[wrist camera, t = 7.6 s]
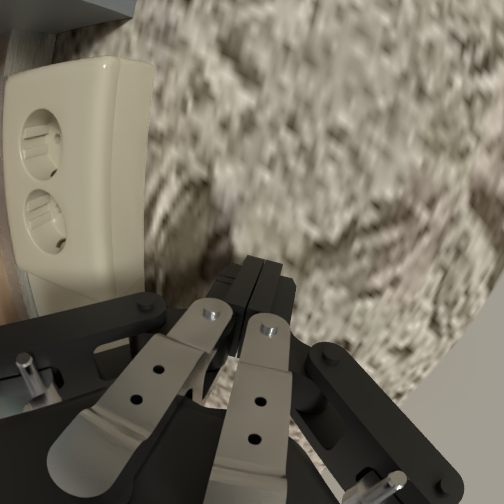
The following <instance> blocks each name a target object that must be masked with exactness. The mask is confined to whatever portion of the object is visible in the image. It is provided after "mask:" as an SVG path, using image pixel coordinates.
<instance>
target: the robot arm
mask: <svg viewBox="0 0 504 504" xmlns="http://www.w3.org/2000/svg"><path fill="white" fill-rule="evenodd" d="M264 262H265V264H264ZM282 266H283V264H281V263H277V262H273V261H269V260H266V261H265V259H261V258H257V257H253V256H250V255H247V257H246V259H245V261H244V263H243V265H238V264H234V263H232V264H230V265H228V266H226V267H224V268H223V270H222V272H221V273H220V276H218V278H217V280H216V281H215V283H214V284H213V286H212V288H211V289H210V291H209V293H208V294H207V296H206V297H205V298H202V299H198V300H196V301H195V302H194V303H193V304H192V305H191V306H190V307H189V308H188V309H174V308H167V304H166V301H165V299H164V298H163V297H161V296H160V295H158V294H155V293H152V292H139V293H135V294H131V295H127V296H123V297H119V298H115V299H110V300H106V301H102V302H98V303H94V304H90V305H86V306H82V307H78V308H73V309H69V310H65V311H61V312H57V313H53V314H48V315H44V316H40V317H36V318H31V319H27V320H23V321H19V322H14V323H10V324H6V325H1V326H0V504H340V503H339V502H338V500H337V499H336V497H335V496H334V494H333V493H332V492H331V490H330V489H329V487H328V486H327V484H326V483H325V481H324V480H323V478H322V476H321V475H320V473H319V472H318V470H317V469H316V467H315V466H314V464H313V463H312V461H311V460H310V458H309V457H308V455H307V454H306V452H305V451H304V450H303V449H302V448H301V446H300V445H299V444H298V443H296V442H295V441H294V440H293V439H292V438H290V437H289V436H288V435H289V422H290V416H291V417H292V419H293V420H294V422H295V423H296V424H297V426H298V427H299V429H300V430H301V432H302V433H303V435H304V436H305V437H306V439H307V440H308V442H309V443H310V445H311V446H312V447H313V449H314V450H315V452H316V453H317V454H318V456H319V457H320V459H321V460H322V461H323V463H324V464H325V466H326V467H327V468H328V470H329V471H330V472H331V474H332V475H333V476H334V478H335V479H336V480H337V482H338V483H339V485H340V486H341V487H342V489H343V490H344V491H345V494H344V495H343V498H342V504H458V503H459V502H460V501H461V499H462V497H463V494H464V483H463V480H462V478H461V476H460V475H459V473H458V472H457V471H456V470H455V469H454V468H453V467H452V466H451V464H450V463H449V462H448V461H447V460H446V459H445V458H444V457H443V456H442V455H441V453H440V452H439V451H438V450H436V448H435V447H434V446H433V445H432V444H431V443H430V441H429V440H428V439H427V438H426V437H425V436H424V435H423V434H422V433H421V432H420V431H419V429H418V428H417V427H416V426H415V425H414V424H413V423H412V422H411V421H410V420H409V418H407V416H406V415H405V414H404V413H403V412H402V411H401V410H400V409H399V408H398V406H397V405H396V404H395V403H394V402H393V401H392V400H391V399H390V398H389V397H388V396H387V394H386V393H385V392H384V391H383V390H382V389H381V388H380V387H379V386H378V385H377V384H376V382H375V381H374V380H373V379H372V378H371V377H370V376H369V375H368V374H367V373H366V372H365V370H364V369H363V368H362V367H361V366H360V365H359V364H358V363H357V362H356V361H355V360H354V359H353V357H352V356H351V355H350V354H349V353H348V352H347V351H346V350H345V349H344V348H342V347H341V346H339V345H337V344H334V343H330V342H319V343H316V344H315V345H313V346H312V347H310V346H308V345H306V344H304V343H302V342H301V341H299V340H298V339H297V338H296V337H295V336H294V335H293V334H292V332H291V330H290V321H291V315H292V309H293V304H294V298H295V292H296V285H295V283H294V281H293V279H292V278H288V277H284V276H280V274H281V270H282ZM128 337H129V344H126V345H122V346H119V347H116V348H112V349H109V350H105V351H102V352H98V353H94V351H95V349H96V348H97V347H99V346H101V345H104V344H107V343H111V342H114V341H118V340H121V339H124V338H128ZM238 348H239V349H238ZM237 350H238V354H237V358H240V359H239V362H238V366H237V370H236V375H235V379H234V383H233V387H232V391H231V395H230V399H229V403H228V407H227V410H226V409H215V408H206V407H204V405H205V403H206V401H207V399H208V397H209V395H210V393H211V392H212V390H213V388H214V386H215V384H216V382H217V380H218V378H219V376H220V374H221V373H222V370H223V365H224V364H225V362H226V360H227V357H228V355H229V356H233V357H235V356H236V353H237Z"/></svg>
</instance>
